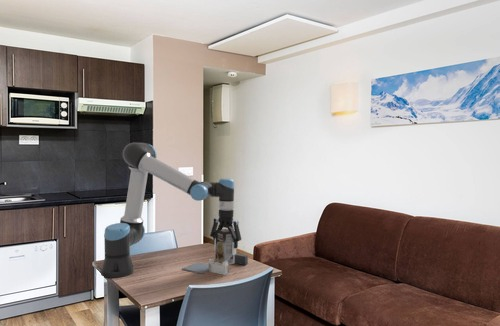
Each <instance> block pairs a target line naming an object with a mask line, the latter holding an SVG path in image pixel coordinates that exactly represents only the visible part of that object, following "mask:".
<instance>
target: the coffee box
mask: <svg viewBox="0 0 500 326" xmlns="http://www.w3.org/2000/svg"><path fill="white" fill-rule="evenodd" d="M234 233H235V232H234ZM232 242H233V238H232V236H231V232H230V231H229V230H228V228H222V230H217V229H216V252H215V259H214V261H215V262H217V263H218V264H222V265H223V262H224V261H228V266H229V265H233V264H236V263H235V255H232Z"/></svg>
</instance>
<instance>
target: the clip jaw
mask: <svg viewBox="0 0 500 326" xmlns="http://www.w3.org/2000/svg"><path fill="white" fill-rule="evenodd" d="M208 264H209V271H208V272H209V273H214V274H219V275H223V276H227V275H229V265H228V261H224V262H223V264H221V263H218V262H217V263H216V262H215V259H214V258H209V259H208Z"/></svg>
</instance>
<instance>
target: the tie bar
mask: <svg viewBox="0 0 500 326" xmlns="http://www.w3.org/2000/svg"><path fill="white" fill-rule="evenodd" d="M248 258H249V255H246V254H242V253H240V254H239V253H236V254H235V263H234V264H238V265H244V266H246V265H248V264H249V263H248V262H249V261H248V260H249V259H248Z"/></svg>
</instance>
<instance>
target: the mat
mask: <svg viewBox="0 0 500 326" xmlns="http://www.w3.org/2000/svg"><path fill="white" fill-rule="evenodd" d="M181 270H182V271H187V272H192V273H195V274H201V275H203V274H206V273H208V272H209V263H204V262H200V261H198V262H194V263H192V264H190V265H187V266H185V267H182V268H181Z"/></svg>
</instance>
